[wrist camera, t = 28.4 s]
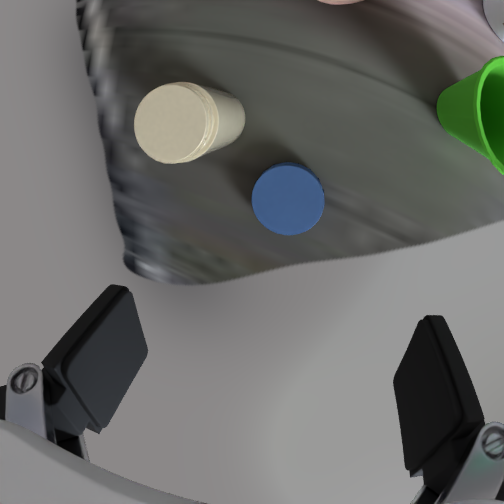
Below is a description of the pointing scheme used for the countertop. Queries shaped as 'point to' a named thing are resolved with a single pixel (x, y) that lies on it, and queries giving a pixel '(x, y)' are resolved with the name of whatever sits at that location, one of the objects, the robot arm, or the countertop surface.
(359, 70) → the countertop surface
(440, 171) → the countertop surface
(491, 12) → the milk bottle
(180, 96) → the jar
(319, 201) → the jar lid
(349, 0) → the decorative fruit
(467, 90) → the cup
